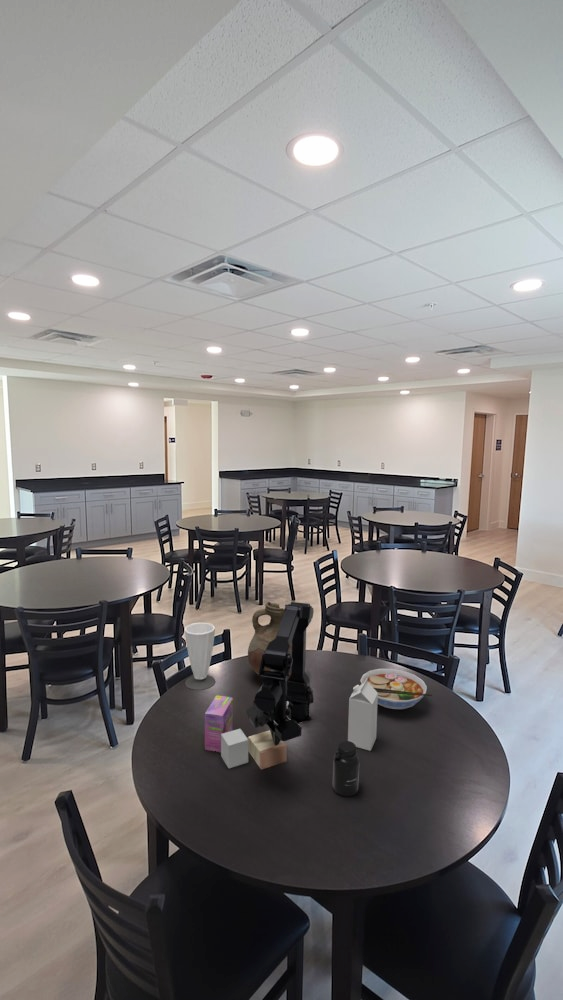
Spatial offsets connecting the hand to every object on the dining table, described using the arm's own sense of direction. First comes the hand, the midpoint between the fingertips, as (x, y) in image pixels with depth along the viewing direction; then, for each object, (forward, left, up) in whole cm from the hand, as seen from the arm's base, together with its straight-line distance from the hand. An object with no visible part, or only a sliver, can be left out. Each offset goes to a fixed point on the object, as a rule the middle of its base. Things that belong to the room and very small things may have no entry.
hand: (276, 744), depth 134 cm
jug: (-23, -45, -7) cm, 51 cm away
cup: (+4, -55, -7) cm, 56 cm away
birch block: (0, -1, -5) cm, 5 cm away
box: (+10, -18, -7) cm, 22 cm away
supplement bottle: (-13, +16, -7) cm, 21 cm away
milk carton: (-29, +2, -7) cm, 30 cm away
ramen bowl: (-52, -11, -7) cm, 54 cm away
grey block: (+9, -8, -7) cm, 14 cm away
